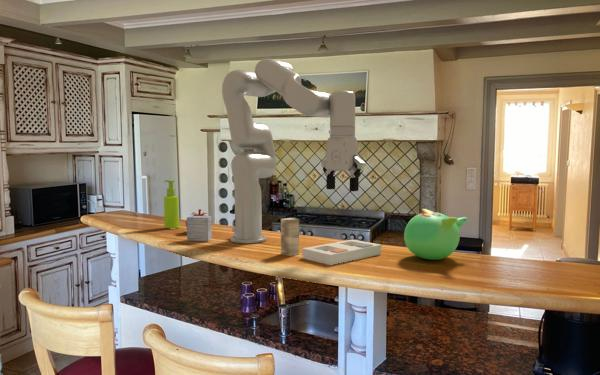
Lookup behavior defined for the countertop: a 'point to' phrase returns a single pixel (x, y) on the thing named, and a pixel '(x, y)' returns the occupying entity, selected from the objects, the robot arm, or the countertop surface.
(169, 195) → the soap dispenser
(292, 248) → the maple peg
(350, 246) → the socket block
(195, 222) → the grey gift box
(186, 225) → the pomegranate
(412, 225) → the toy bird
